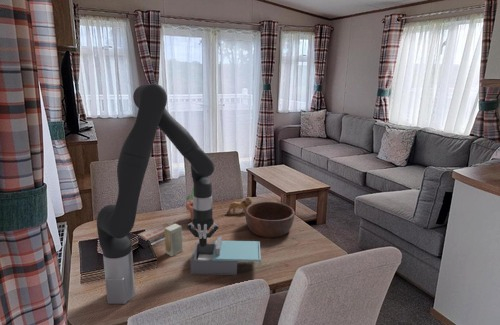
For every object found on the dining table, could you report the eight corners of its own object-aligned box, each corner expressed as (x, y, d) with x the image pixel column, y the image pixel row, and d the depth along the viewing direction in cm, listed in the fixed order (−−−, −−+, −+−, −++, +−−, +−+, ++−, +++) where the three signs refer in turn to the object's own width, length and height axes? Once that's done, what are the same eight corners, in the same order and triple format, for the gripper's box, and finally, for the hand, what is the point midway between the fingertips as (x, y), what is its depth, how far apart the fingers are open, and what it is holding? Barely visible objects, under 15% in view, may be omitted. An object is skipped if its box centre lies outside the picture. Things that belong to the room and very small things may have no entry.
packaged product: (163, 220, 168) (176, 226, 162) (164, 229, 170) (176, 236, 164) (131, 233, 155) (144, 240, 149) (132, 242, 156) (144, 250, 150)
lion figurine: (250, 209, 196) (250, 195, 193) (253, 213, 191) (253, 198, 188) (225, 212, 191) (225, 197, 189) (227, 216, 187) (227, 200, 184)
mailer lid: (260, 265, 131) (261, 252, 130) (211, 264, 131) (211, 251, 130) (259, 246, 145) (259, 235, 144) (215, 245, 145) (215, 234, 144)
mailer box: (236, 274, 133) (236, 261, 131) (190, 273, 133) (190, 260, 131) (237, 256, 146) (238, 243, 145) (196, 255, 146) (196, 242, 144)
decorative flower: (199, 229, 170) (198, 172, 162) (179, 222, 177) (177, 167, 169) (217, 218, 183) (217, 165, 175) (197, 212, 189) (196, 161, 182)
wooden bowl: (296, 222, 181) (298, 204, 178) (289, 244, 158) (290, 224, 155) (251, 216, 187) (252, 198, 185) (238, 236, 164) (238, 216, 161)
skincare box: (176, 247, 152) (175, 222, 148) (183, 251, 149) (182, 225, 146) (164, 253, 147) (163, 227, 144) (171, 257, 144) (170, 230, 141)
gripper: (184, 209, 129) (185, 250, 133) (218, 210, 129) (218, 251, 133) (187, 202, 136) (188, 241, 140) (220, 203, 136) (220, 242, 140)
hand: (203, 246), depth 137 cm, fingers closed
